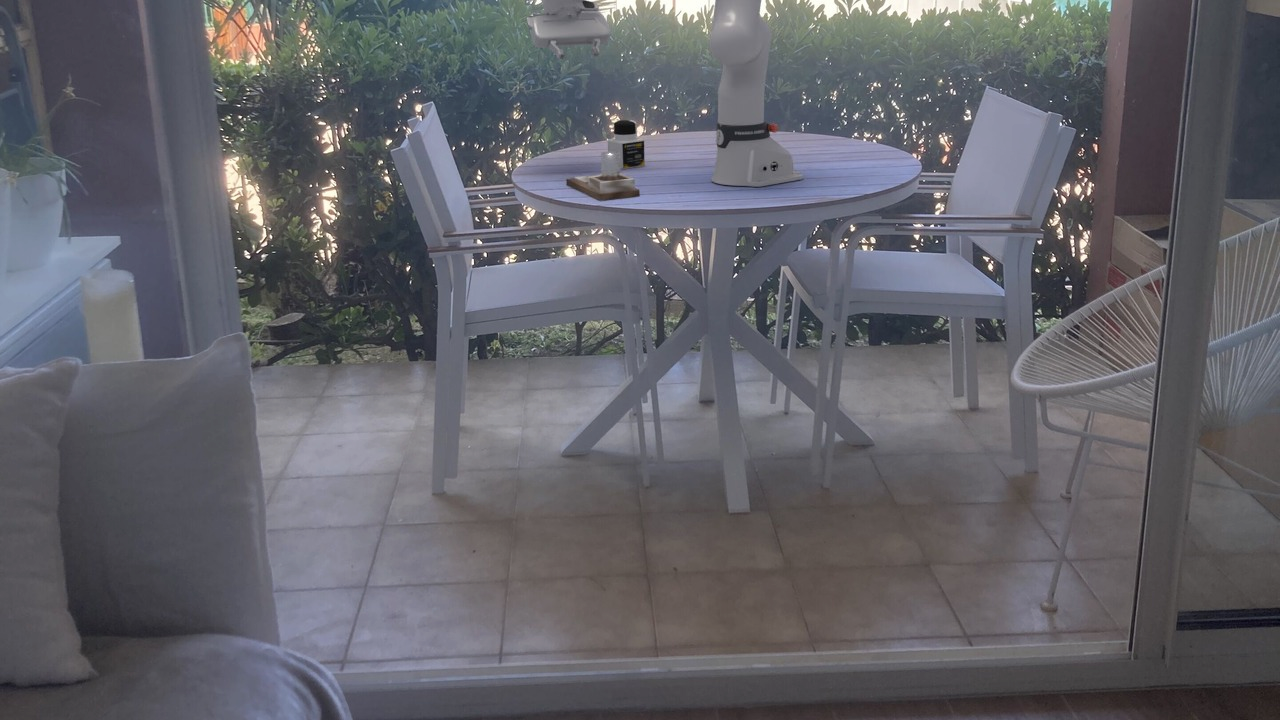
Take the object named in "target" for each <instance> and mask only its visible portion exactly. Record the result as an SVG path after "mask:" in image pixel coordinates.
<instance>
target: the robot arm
mask: <svg viewBox="0 0 1280 720" xmlns="http://www.w3.org/2000/svg"><path fill="white" fill-rule="evenodd" d="M540 1H541V2H542V7H543V8H542V9H543V11H544V13H532V14H530V15H528V16H527V17H526V18H525V21H526V25H527V27H528V28H529V29H530V36H531V42H532V44H533V46H535V47H536V48H549V51H551V52H552V53H553V54H554V55H555V56H556V59H558V60H559V59H560V60H562V59H564V58H565V52H564V49H563V48H559V47H571V46H589V45H590V46H591V45H592V46H593V47H592V49H591V51H590V53H591V55H592V57H593V58H596V57H597V58H598V57H600V54H601V51H600V48H599V46H600V45H607V44H608V42H609V40H610V39H611V35H612V31H611V28H610V26H609V23H608V20H607V19H606V17H605V15H604V14H603V13H602V12H600V11H599V9H600V7H599V4H598V3H597V2H596V1H594V2H593V1H589V0H540ZM761 4H762V0H715V2H714V8H713V18H712V26H711V27H712V28H711V34H710V37H709V45H708V46H709V50H710V52H711V54H712V56H713V57H714V59H715V60H717V61H718V62H719V63H721V64H722V71H721V76H720V78H721V79H720V81H719V86H718V88H717V89H718V90H717V102H718V103H717V122H716V133H715V139H716V140H715V141H716V146H717V150H716V156H715V157H716V158H715V159H716V160H715V165H714V171H713V175H712V178H711V182H713V183H715V184H718V185H725V186H735V187H736V186H739V187H741V186H743V187H754V188H755V187H756V188H757V187H765V186H772V185H778V184H782V183H788V182H794V181H800V180H804V179H803V177H804V176H803V173H801V171H798V170H795V168H794V161H793V156H792V154H791V153H790V151H789V150H788V149H787V148H784V147H783V146H782V145H781V144H780V143H779V142H778V141H776V140H775V139H774V138H772V137H771V134H770V132H771V133H777V132H778V131H779V126H778V125H777V124H776V123H775V124H774V123H770V124H769V123H768V122H765V87H766V78H767V73H768V72H767V71H768V64H769V58H770V57H769V55H770V47H771V46H770V45H771V42H772V31H771V28H770V26H769V25H768V23H767V22H766V21H765V19H763V18H761V17H760V12H761Z"/></svg>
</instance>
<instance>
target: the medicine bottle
mask: <svg viewBox="0 0 1280 720" xmlns="http://www.w3.org/2000/svg"><path fill="white" fill-rule="evenodd" d="M637 125H638V123H637V122H636V121H635V120H632V119H623V120H616V121H615V122H614V123H613V137H614V138H608V139H607V152H609V151H613V152H620V170H628V169H629V170H630V169H635V168H642V167H644V166H645V165H646V161H645V158H646V157H645V140H644V138H637V137H638V126H637Z"/></svg>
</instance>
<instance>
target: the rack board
mask: <svg viewBox="0 0 1280 720" xmlns="http://www.w3.org/2000/svg"><path fill="white" fill-rule="evenodd" d="M635 181H636V180H635V178H633V177H631V176H628V175H626V174H623V173H621V172H620V180H614V181H605V182H603V181H602V175H601V173H600V174H593V175H583V176H582V175H581V176H574V177H572V178H566V182H565V183H566V186H567V187H570V188H572V189H574V190H576V191H578V192H580V193H582V192H583V193H582V194H584V193H585V194H584V195H587V196H589V197H590V198H592V199H595V200H597V201H599V200H604V201H610V200H612V201H613V200H620V199H629V198H637V197H640V195H641V193H640V189H639V188H636V182H635Z"/></svg>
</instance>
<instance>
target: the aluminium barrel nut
mask: <svg viewBox="0 0 1280 720" xmlns="http://www.w3.org/2000/svg"><path fill="white" fill-rule="evenodd" d="M600 155H601V156H600V157H601V158H600V159H601V162H600V163H601V164H600V165H601V166H600V167H601V169H600V171H601V173H600V174H601V175H602V181H603V182H605V181H614V180H620V173H621V169H620V152H613V151H609V152H608V151H603V152H601V153H600Z"/></svg>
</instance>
